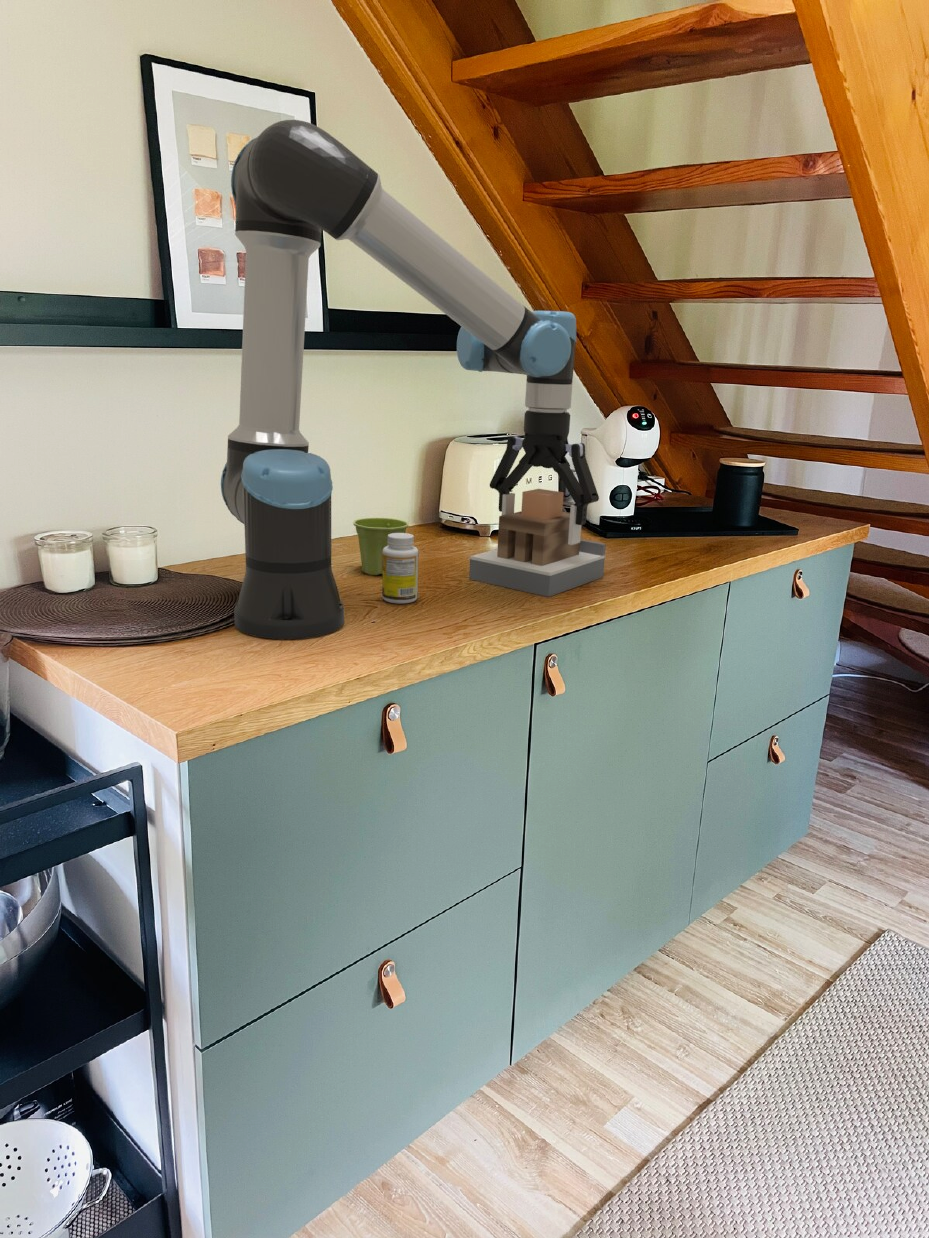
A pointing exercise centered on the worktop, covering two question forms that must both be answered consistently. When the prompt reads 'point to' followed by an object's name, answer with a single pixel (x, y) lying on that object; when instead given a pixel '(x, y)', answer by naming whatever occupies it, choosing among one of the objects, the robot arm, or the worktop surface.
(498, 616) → the worktop surface
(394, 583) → the supplement bottle
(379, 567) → the plant pot
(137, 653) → the worktop surface
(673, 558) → the worktop surface
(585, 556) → the platform
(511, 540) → the pallet
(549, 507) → the terracotta orange block
